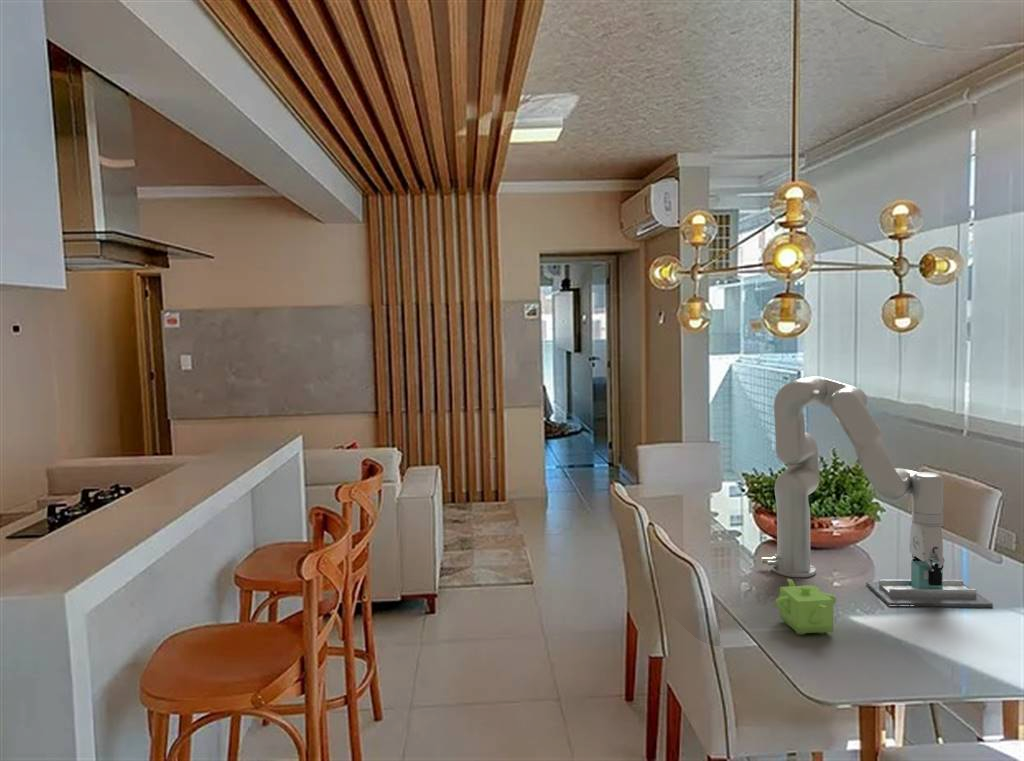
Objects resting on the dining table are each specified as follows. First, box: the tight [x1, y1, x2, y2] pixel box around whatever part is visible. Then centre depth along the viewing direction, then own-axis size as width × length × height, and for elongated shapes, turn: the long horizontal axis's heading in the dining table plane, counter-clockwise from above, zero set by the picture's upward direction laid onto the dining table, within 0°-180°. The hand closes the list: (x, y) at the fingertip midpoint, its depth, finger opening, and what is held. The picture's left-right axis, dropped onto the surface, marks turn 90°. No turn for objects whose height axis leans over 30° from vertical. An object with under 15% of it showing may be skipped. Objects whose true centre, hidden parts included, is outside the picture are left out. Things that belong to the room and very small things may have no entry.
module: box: [910, 560, 944, 589], centre depth 199 cm, size 6×5×7 cm
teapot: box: [775, 578, 837, 636], centre depth 181 cm, size 20×15×11 cm
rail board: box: [865, 578, 994, 608], centre depth 200 cm, size 26×16×3 cm, turn 84°
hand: (926, 578), depth 199 cm, fingers open, 9 cm apart
